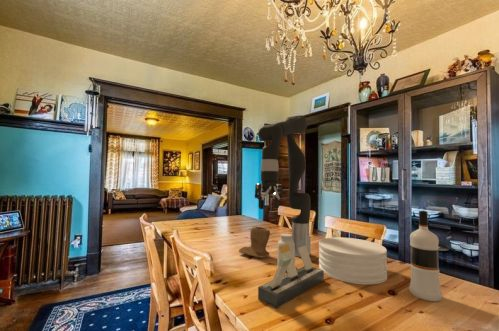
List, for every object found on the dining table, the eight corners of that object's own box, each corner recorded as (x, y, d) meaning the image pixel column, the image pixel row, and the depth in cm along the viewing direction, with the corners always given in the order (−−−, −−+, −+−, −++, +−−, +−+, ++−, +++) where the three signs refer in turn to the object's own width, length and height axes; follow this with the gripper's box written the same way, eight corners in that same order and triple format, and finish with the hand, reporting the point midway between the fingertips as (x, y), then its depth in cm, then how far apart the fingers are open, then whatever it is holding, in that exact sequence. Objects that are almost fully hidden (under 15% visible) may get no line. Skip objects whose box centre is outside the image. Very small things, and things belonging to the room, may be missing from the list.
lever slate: (305, 271, 94) (295, 242, 98) (311, 269, 97) (301, 240, 101) (308, 271, 93) (297, 241, 97) (314, 268, 96) (303, 239, 100)
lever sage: (268, 287, 79) (280, 258, 76) (277, 283, 82) (289, 255, 79) (271, 290, 78) (284, 261, 75) (280, 286, 81) (292, 258, 78)
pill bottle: (296, 266, 110) (296, 233, 111) (292, 272, 103) (292, 237, 104) (280, 263, 113) (280, 232, 114) (274, 269, 106) (275, 235, 107)
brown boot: (274, 255, 126) (274, 226, 127) (262, 261, 116) (262, 230, 117) (250, 249, 135) (251, 223, 136) (238, 255, 125) (238, 226, 126)
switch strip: (258, 299, 80) (258, 286, 80) (306, 274, 101) (306, 264, 101) (276, 308, 74) (276, 294, 74) (323, 280, 95) (323, 270, 95)
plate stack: (394, 271, 107) (393, 245, 107) (376, 292, 86) (375, 260, 87) (334, 256, 126) (333, 234, 127) (307, 270, 105) (307, 244, 106)
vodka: (424, 303, 79) (421, 212, 80) (403, 290, 88) (401, 209, 89) (449, 302, 79) (446, 212, 81) (426, 289, 89) (424, 209, 90)
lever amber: (289, 279, 86) (278, 247, 90) (296, 276, 89) (285, 245, 94) (292, 279, 85) (281, 246, 90) (299, 275, 89) (288, 244, 93)
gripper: (275, 171, 109) (274, 207, 107) (251, 169, 100) (250, 208, 98) (287, 171, 103) (286, 208, 101) (263, 169, 94) (262, 210, 93)
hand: (268, 208), depth 100 cm, fingers open, 8 cm apart
